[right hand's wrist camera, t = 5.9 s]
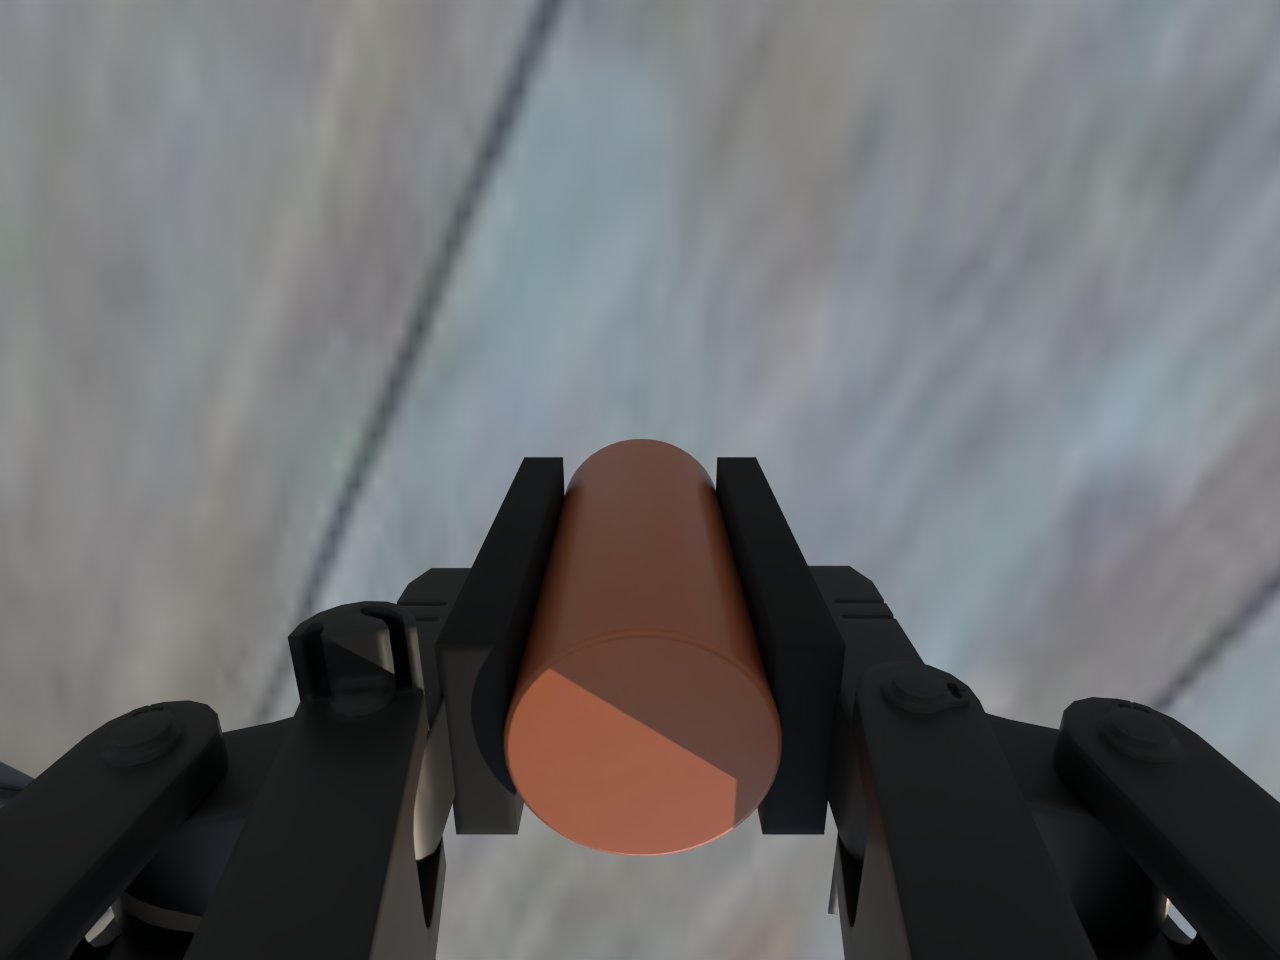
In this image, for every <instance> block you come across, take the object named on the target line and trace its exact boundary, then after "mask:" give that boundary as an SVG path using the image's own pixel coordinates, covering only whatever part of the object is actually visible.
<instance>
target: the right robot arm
mask: <svg viewBox="0 0 1280 960" xmlns="http://www.w3.org/2000/svg"><path fill="white" fill-rule="evenodd" d="M716 493H717V497H718V500H719V504H720V507H721V511H722V515H723V518H724V522H725V525H726V529H727V532H728V536H729V540H730V543H731V547H732V550H733V554H734V558H735V561H736V565H737V569H738V572H739V576H740V579H741V583H742V587H743V590H744V594H745V597H746V601H747V605H748V608H749V612H750V615H751V619H752V623H753V626H754V630H755V633H756V637H757V641H758V644H759V648H760V652H761V655H762V659H763V662H764V666H765V670H766V673H767V677H768V680H769V684H770V688H771V691H772V695H773V698H774V701H775V704H776V707H777V710H778V713H779V716H780V721H781V727H782V733H783V738H782V754H781V760H780V764H779V767H778V770H777V773H776V776H775V779H774V781H773V783H772V785H771V787H770V789H769V791H768V793H767V795H766V796H765V797H764V799H763V800H762V802H761V803H760V804H759V806H758V807H757V808H758V813H759V818H760V823H761V828H762V833H763V834H824V830H825V821H826V813H827V804H828V801H829V804H830V807H831V810H832V813H833V817H834V820H835V823H836V826H837V829H838V837H837V845H836V853H835V861H834V869H833V877H832V885H831V893H830V901H829V909H828V913H829V914H837V915H838V909H839V913H840V922H841V930H842V939H843V948H844V956H845V960H1280V803H1279V802H1278V801H1277V800H1276V799H1274V798H1273V797H1272V796H1271V795H1270V794H1268V793H1267V792H1266V791H1265V790H1264V789H1262V788H1261V787H1260V786H1259V785H1258V784H1256V783H1255V782H1254V781H1253V780H1252V779H1250V778H1249V777H1248V776H1247V775H1246V774H1244V773H1243V772H1242V771H1241V770H1240V769H1238V768H1237V767H1236V766H1235V765H1234V764H1232V763H1231V762H1230V761H1229V760H1228V759H1226V758H1225V757H1224V756H1223V755H1222V754H1220V753H1219V752H1218V751H1217V750H1216V749H1214V748H1213V747H1212V746H1211V745H1210V744H1208V743H1207V742H1206V741H1205V740H1203V739H1202V738H1201V737H1200V736H1199V735H1197V734H1196V733H1195V732H1193V731H1192V730H1190V729H1189V728H1187V727H1186V726H1184V725H1183V724H1181V723H1180V722H1178V721H1177V720H1175V719H1174V718H1171V717H1169V716H1167V715H1165V714H1162V713H1160V712H1158V711H1155V710H1153V709H1151V708H1150V707H1148V706H1145V705H1142V704H1138V703H1135V702H1134V703H1132V702H1130V701H1126V700H1121V699H1112V698H1097V697H1091V698H1087V699H1082V700H1078V701H1074V702H1073V703H1072V704H1071V705H1070V706H1068V707H1067V708H1066V709H1065V710H1064V712H1063V716H1062V720H1061V724H1060V728H1059V730H1058V729H1053V728H1048V727H1043V726H1038V725H1033V724H1029V723H1024V722H1019V721H1014V720H1009V719H1005V718H1002V717H998V716H994V715H991V714H988V713H985V711H984V709H983V707H982V705H981V703H980V701H979V699H978V698H977V697H976V695H975V694H974V693H973V692H972V690H971V689H970V688H969V686H967V685H966V684H964V683H963V682H961V681H960V680H959V679H957V678H956V677H954V676H953V675H951V674H949V673H947V672H944V671H942V670H939V669H937V668H934V667H932V666H929V665H925V664H924V662H923V661H922V659H921V658H920V656H919V654H918V653H917V651H916V650H915V648H914V647H913V645H912V643H911V642H910V640H909V639H908V637H907V636H906V634H905V632H904V631H903V629H902V628H901V626H900V625H899V623H898V621H897V620H896V619H894V618H893V614H892V612H891V610H890V609H889V607H888V606H887V604H886V603H884V599H883V598H882V596H881V595H880V593H879V591H878V590H877V588H876V587H875V585H874V584H873V582H872V581H871V580H869V579H868V578H866V577H865V576H863V575H862V574H860V573H859V572H857V571H856V570H855V569H853V568H852V567H850V566H808V565H807V563H806V561H805V559H804V557H803V555H802V553H801V551H800V548H799V546H798V544H797V542H796V540H795V538H794V536H793V534H792V532H791V530H790V528H789V526H788V523H787V521H786V519H785V517H784V515H783V513H782V511H781V509H780V507H779V505H778V503H777V501H776V498H775V496H774V494H773V492H772V490H771V488H770V486H769V484H768V482H767V480H766V478H765V476H764V473H763V471H762V469H761V467H760V465H759V463H758V461H757V459H756V457H717V479H716ZM563 501H564V472H563V457H524V459H523V462H522V464H521V466H520V468H519V470H518V472H517V474H516V476H515V478H514V480H513V482H512V484H511V487H510V489H509V491H508V493H507V495H506V497H505V499H504V501H503V503H502V505H501V507H500V510H499V512H498V514H497V516H496V518H495V520H494V522H493V524H492V526H491V528H490V530H489V532H488V535H487V537H486V539H485V541H484V543H483V545H482V547H481V549H480V551H479V553H478V555H477V558H476V560H475V562H474V564H473V566H472V568H431V569H430V570H428V571H427V572H425V573H424V574H422V575H421V576H419V577H418V578H416V579H415V580H413V581H412V582H411V583H409V584H408V586H407V587H406V589H405V590H404V592H403V593H402V595H401V597H400V598H399V600H398V601H397V604H394V603H390V602H379V601H363V602H357V603H351V604H345V605H340V606H337V607H334V608H332V609H329V610H326V611H323V612H320V613H318V614H316V615H314V616H313V617H311V618H309V619H307V620H306V621H304V622H302V623H301V624H299V625H298V626H297V628H296V629H295V630H294V631H293V632H292V633H291V634H290V635H289V636H288V641H289V646H290V651H291V656H292V661H293V666H294V671H295V676H296V681H297V686H298V691H299V696H300V701H301V702H300V704H299V706H298V708H297V711H296V713H295V715H294V716H293V717H291V718H287V719H283V720H280V721H276V722H272V723H267V724H263V725H258V726H253V727H248V728H243V729H238V730H233V731H229V732H224V733H222V730H221V726H220V722H219V718H218V714H217V713H216V712H215V711H214V710H213V709H211V708H210V707H209V706H208V705H207V704H202V703H198V702H193V701H189V700H188V701H173V702H162V703H157V704H152V705H151V706H148V705H147V706H144V707H141V708H138V709H135V710H132V711H131V712H129V713H127V714H125V715H122V716H120V717H118V718H115V719H113V720H111V721H109V722H107V723H106V724H104V725H103V726H101V727H100V728H98V729H97V730H95V731H94V732H92V733H91V734H89V735H88V736H86V737H85V738H84V739H82V740H81V741H80V742H79V743H78V744H76V745H75V746H74V747H73V748H72V749H70V750H69V751H68V752H67V753H66V754H64V755H63V756H62V757H61V758H60V759H59V760H57V761H56V762H55V763H54V764H53V765H51V766H50V767H49V768H48V769H47V770H45V771H44V772H43V773H42V774H41V775H39V776H38V777H37V778H36V779H35V780H33V781H32V782H31V783H30V784H29V785H28V786H26V787H25V788H24V789H23V790H22V791H14V790H7V789H0V960H435V958H436V949H437V941H438V932H439V923H440V915H441V906H442V898H443V889H444V880H445V872H446V861H445V853H444V845H443V837H442V834H443V831H444V828H445V825H446V822H447V818H448V815H449V812H450V809H451V806H452V803H453V809H454V818H455V826H456V834H518V830H519V825H520V820H521V815H522V810H523V805H524V801H523V799H522V798H521V797H520V795H519V794H518V792H517V790H516V788H515V786H514V784H513V782H512V780H511V777H510V774H509V771H508V768H507V765H506V761H505V755H504V749H503V734H504V727H505V721H506V717H507V713H508V710H509V706H510V702H511V698H512V694H513V691H514V687H515V683H516V679H517V675H518V672H519V668H520V664H521V660H522V656H523V653H524V649H525V645H526V641H527V637H528V634H529V630H530V626H531V622H532V618H533V615H534V611H535V607H536V603H537V599H538V596H539V592H540V588H541V584H542V580H543V577H544V573H545V569H546V565H547V561H548V558H549V554H550V550H551V546H552V542H553V539H554V535H555V531H556V527H557V523H558V520H559V516H560V512H561V508H562V504H563ZM1171 903H1172V904H1173V905H1174V906H1175V907H1176V909H1177V910H1178V911H1179V912H1180V913H1181V914H1182V915H1183V917H1184V918H1185V919H1186V920H1187V921H1188V922H1189V924H1190V925H1191V926H1192V927H1193V928H1194V929H1195V930H1196V932H1197V934H1196V937H1195V938H1194V939H1191V938H1189V937H1188V936H1187V935H1186V934H1185V933H1184V932H1183V931H1182V930H1181V929H1180V928H1179V927H1178V926H1177V925H1176V924H1175V923H1174V921H1173V920H1172V919H1171V918H1170V917H1169V915H1168V914H1167V913H1168V910H1169V907H1170V904H1171Z"/></svg>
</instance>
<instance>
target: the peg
mask: <svg viewBox="0 0 1280 960" xmlns="http://www.w3.org/2000/svg"><path fill="white" fill-rule="evenodd" d="M782 738H783V733H782V727H781V721H780V716H779V713H778V710H777V707H776V704H775V701H774V698H773V695H772V691H771V688H770V684H769V680H768V677H767V673H766V670H765V666H764V662H763V659H762V655H761V652H760V648H759V644H758V641H757V637H756V633H755V630H754V626H753V623H752V619H751V615H750V612H749V608H748V605H747V601H746V597H745V594H744V590H743V587H742V583H741V579H740V576H739V572H738V569H737V565H736V561H735V558H734V554H733V550H732V547H731V543H730V540H729V536H728V532H727V529H726V525H725V522H724V518H723V515H722V511H721V507H720V504H719V500H718V497H717V493H716V489H715V486H714V484H713V482H712V480H711V478H710V476H709V475H708V473H707V472H706V470H705V469H704V468H703V467H702V465H701V464H700V463H699V462H698V461H697V460H696V459H694V458H693V457H692V456H691V455H690V454H688V453H686V452H685V451H683V450H682V449H680V448H678V447H676V446H673V445H671V444H668V443H665V442H661V441H656V440H649V439H634V440H626V441H621V442H618V443H615V444H611V445H609V446H607V447H605V448H603V449H601V450H599V451H597V452H596V453H594V454H593V455H591V456H590V457H589V458H588V459H587V460H586V461H584V462H583V464H582V465H581V466H580V467H579V468H578V469H577V471H576V472H575V474H574V475H573V477H572V478H571V480H570V482H569V484H568V487H567V490H566V493H565V496H564V501H563V504H562V508H561V512H560V516H559V520H558V523H557V527H556V531H555V535H554V539H553V542H552V546H551V550H550V554H549V558H548V561H547V565H546V569H545V573H544V577H543V580H542V584H541V588H540V592H539V596H538V599H537V603H536V607H535V611H534V615H533V618H532V622H531V626H530V630H529V634H528V637H527V641H526V645H525V649H524V653H523V656H522V660H521V664H520V668H519V672H518V675H517V679H516V683H515V687H514V691H513V694H512V698H511V702H510V706H509V710H508V713H507V717H506V721H505V727H504V734H503V749H504V755H505V761H506V765H507V768H508V771H509V774H510V777H511V780H512V782H513V784H514V786H515V788H516V790H517V792H518V794H519V795H520V797H521V798H522V799H523V801H524V802H525V804H526V805H527V806H528V807H529V808H530V810H531V811H532V812H533V813H534V814H535V815H536V816H537V817H538V818H539V819H540V820H542V821H543V822H544V823H545V824H546V825H548V826H549V827H550V828H552V829H553V830H555V831H556V832H558V833H559V834H561V835H563V836H564V837H567V838H569V839H571V840H573V841H575V842H577V843H579V844H582V845H584V846H587V847H590V848H593V849H596V850H600V851H604V852H608V853H614V854H621V855H631V856H654V855H664V854H671V853H677V852H681V851H685V850H689V849H693V848H695V847H698V846H701V845H704V844H706V843H709V842H711V841H713V840H715V839H717V838H719V837H721V836H723V835H724V834H726V833H727V832H729V831H731V830H732V829H734V828H735V827H737V826H738V825H739V824H740V823H741V822H743V821H744V820H745V819H746V818H747V817H749V815H750V814H751V813H752V812H753V811H754V810H755V809H756V808H757V807H758V806H759V804H760V803H761V802H762V800H763V799H764V797H765V796H766V795H767V793H768V791H769V789H770V787H771V785H772V783H773V781H774V779H775V776H776V773H777V770H778V767H779V764H780V760H781V754H782Z"/></svg>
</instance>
